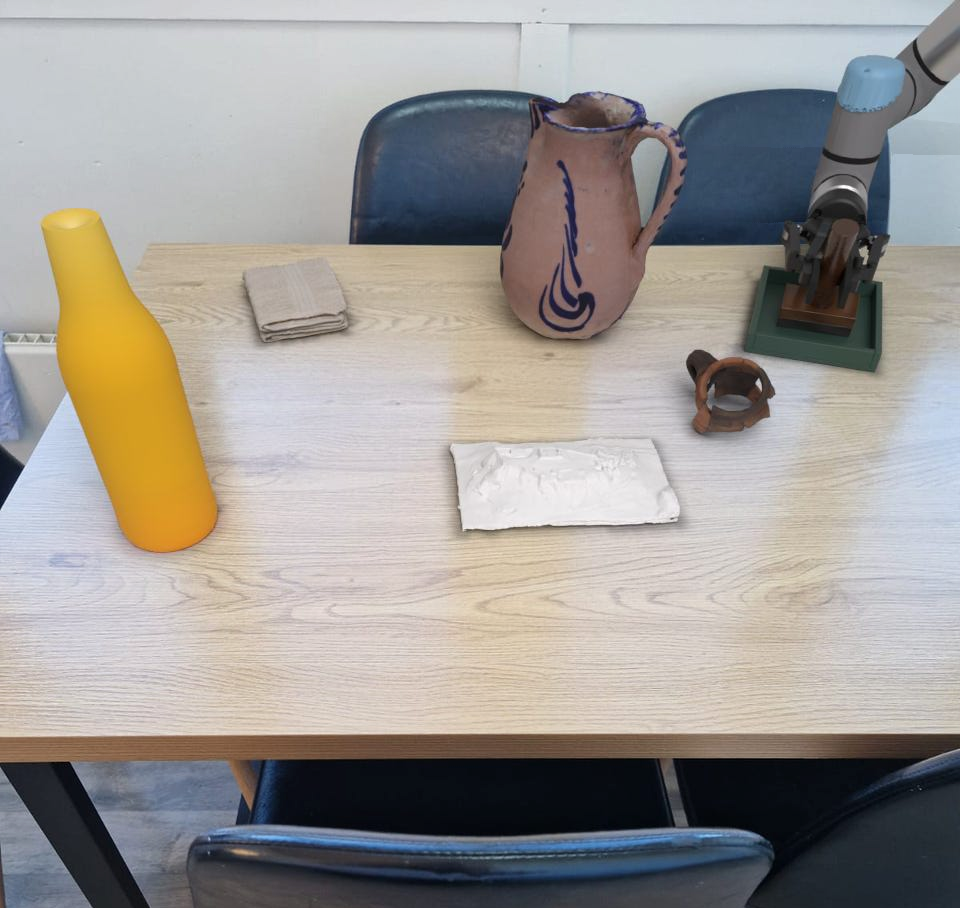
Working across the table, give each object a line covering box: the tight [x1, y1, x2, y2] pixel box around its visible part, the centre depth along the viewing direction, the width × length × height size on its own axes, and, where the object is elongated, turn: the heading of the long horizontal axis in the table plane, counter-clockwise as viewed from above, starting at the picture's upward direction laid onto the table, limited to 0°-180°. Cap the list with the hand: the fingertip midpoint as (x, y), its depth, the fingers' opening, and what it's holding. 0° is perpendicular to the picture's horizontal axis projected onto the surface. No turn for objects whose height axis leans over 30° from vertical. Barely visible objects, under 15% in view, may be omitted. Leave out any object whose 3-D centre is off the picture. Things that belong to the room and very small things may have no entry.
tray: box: [744, 265, 883, 373], centre depth 111 cm, size 16×20×2 cm
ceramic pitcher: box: [499, 90, 688, 340], centre depth 102 cm, size 18×21×25 cm
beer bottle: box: [40, 207, 218, 553], centre depth 74 cm, size 9×9×29 cm
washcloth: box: [241, 257, 349, 343], centre depth 113 cm, size 12×18×3 cm, turn 19°
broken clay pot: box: [685, 349, 776, 434], centre depth 96 cm, size 12×10×8 cm
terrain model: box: [449, 436, 681, 533], centre depth 88 cm, size 17×23×5 cm
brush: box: [776, 219, 860, 337], centre depth 105 cm, size 9×4×14 cm, turn 72°
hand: (827, 295), depth 101 cm, fingers closed on brush, 3 cm apart
